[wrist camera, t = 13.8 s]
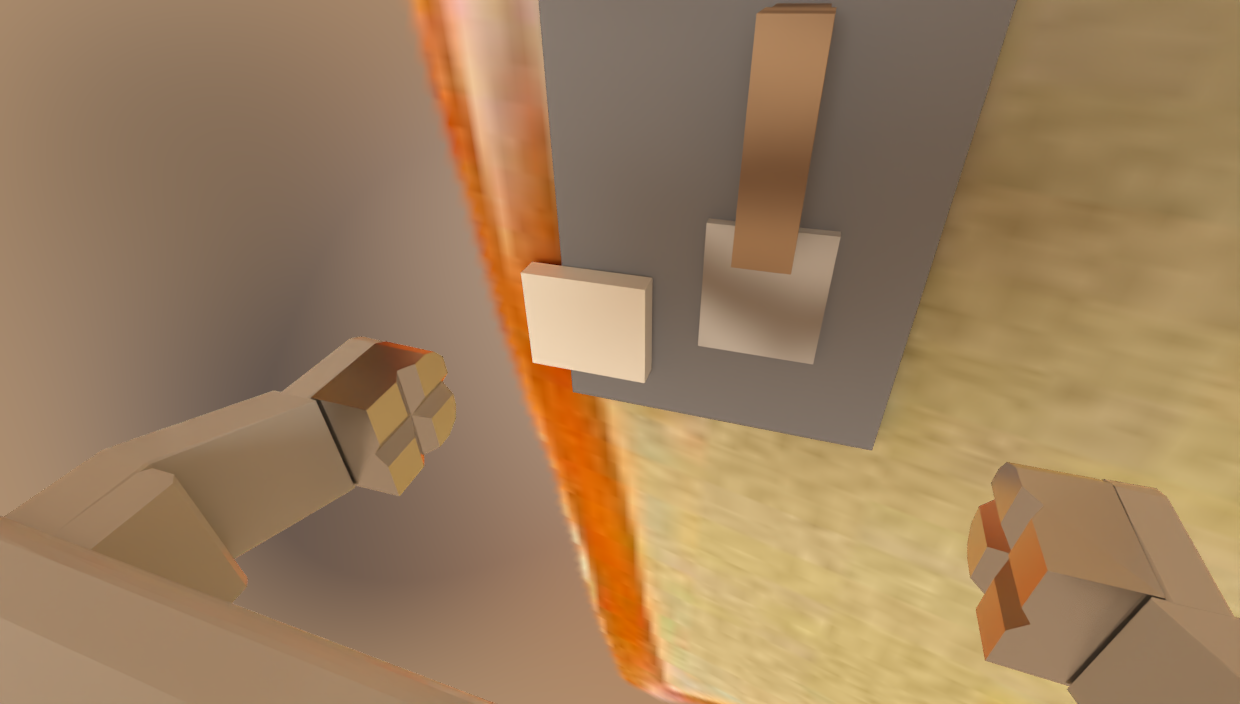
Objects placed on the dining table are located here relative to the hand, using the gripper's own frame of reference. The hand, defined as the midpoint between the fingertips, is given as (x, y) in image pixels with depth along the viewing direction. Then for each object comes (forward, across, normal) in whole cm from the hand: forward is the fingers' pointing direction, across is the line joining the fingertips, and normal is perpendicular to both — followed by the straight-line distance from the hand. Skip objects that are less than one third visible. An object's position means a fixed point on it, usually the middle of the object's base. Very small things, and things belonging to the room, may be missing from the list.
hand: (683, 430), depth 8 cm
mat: (+20, +2, +4) cm, 21 cm away
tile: (+19, +6, +11) cm, 23 cm away
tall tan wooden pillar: (+20, 0, +4) cm, 20 cm away
